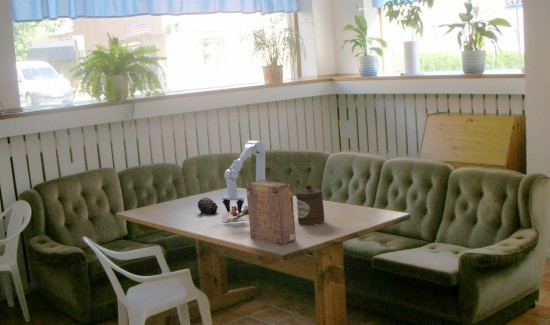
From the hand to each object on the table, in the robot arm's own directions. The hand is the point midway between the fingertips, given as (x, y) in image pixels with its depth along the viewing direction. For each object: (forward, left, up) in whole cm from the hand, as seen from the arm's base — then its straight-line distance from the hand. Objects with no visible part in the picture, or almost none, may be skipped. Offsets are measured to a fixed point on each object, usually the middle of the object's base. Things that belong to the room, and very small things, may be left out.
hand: (234, 212), depth 429 cm
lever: (-4, -6, -2) cm, 8 cm away
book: (-18, +54, -5) cm, 57 cm away
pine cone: (+15, -23, -5) cm, 28 cm away
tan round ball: (0, -12, -3) cm, 12 cm away
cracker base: (-2, -7, -5) cm, 9 cm away
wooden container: (-42, +26, -5) cm, 50 cm away
